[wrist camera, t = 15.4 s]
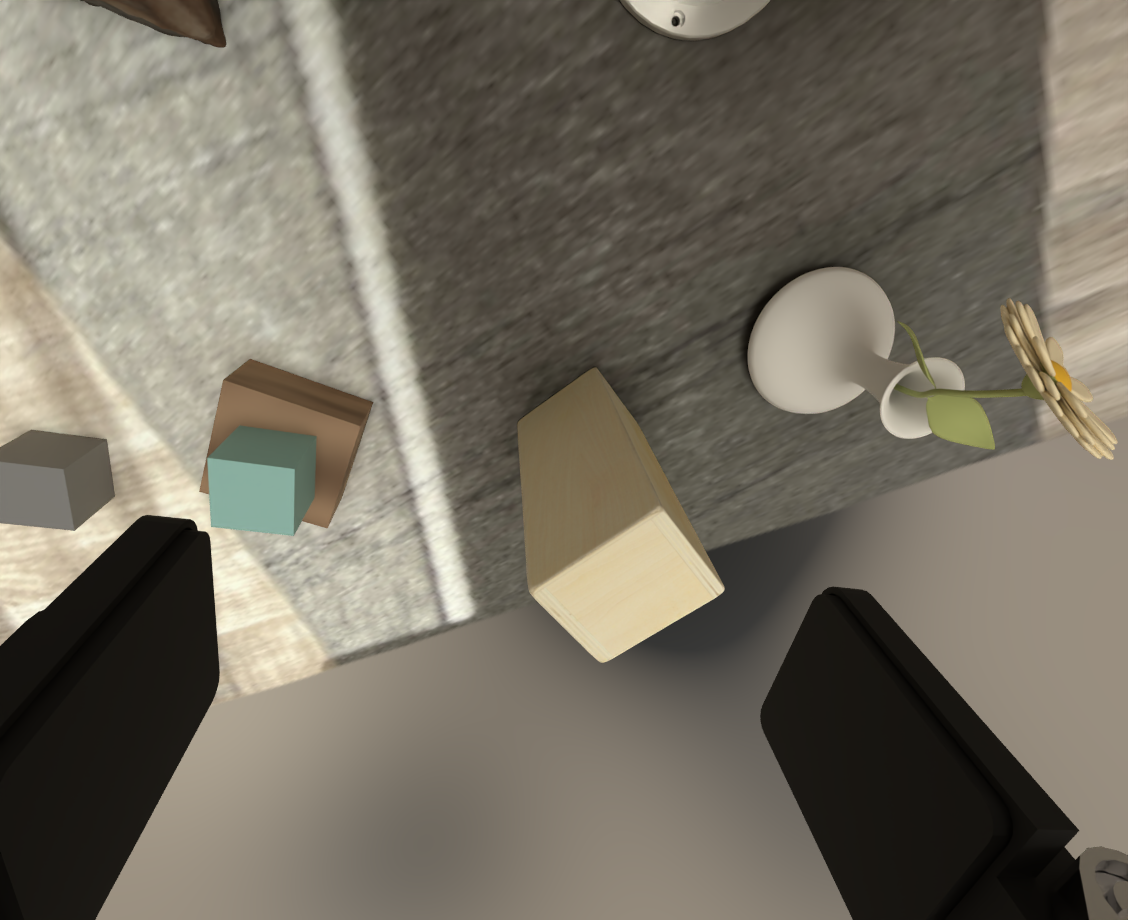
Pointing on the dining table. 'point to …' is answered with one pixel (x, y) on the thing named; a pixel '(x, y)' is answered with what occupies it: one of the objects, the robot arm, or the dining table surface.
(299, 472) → the teal cube
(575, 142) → the dining table surface
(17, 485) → the grey cube
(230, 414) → the walnut block
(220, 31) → the brown rock
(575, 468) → the tall cream block
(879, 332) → the flower in vase
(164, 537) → the robot arm
